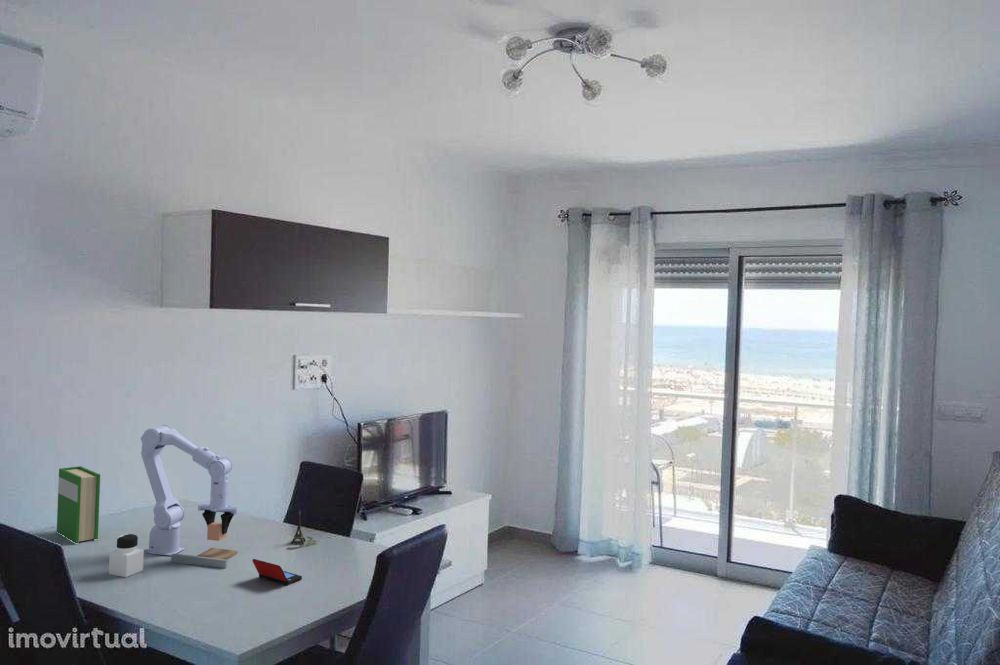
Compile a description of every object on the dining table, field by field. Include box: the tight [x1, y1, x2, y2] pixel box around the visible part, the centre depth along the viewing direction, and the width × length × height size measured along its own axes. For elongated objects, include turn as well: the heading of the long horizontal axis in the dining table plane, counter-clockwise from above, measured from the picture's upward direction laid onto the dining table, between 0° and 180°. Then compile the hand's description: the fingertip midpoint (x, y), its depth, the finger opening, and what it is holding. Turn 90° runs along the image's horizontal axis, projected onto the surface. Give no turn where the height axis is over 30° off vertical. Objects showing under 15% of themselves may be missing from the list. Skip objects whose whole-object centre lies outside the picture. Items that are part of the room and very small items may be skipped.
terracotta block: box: [206, 521, 227, 542], centre depth 259 cm, size 4×4×5 cm
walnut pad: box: [196, 547, 238, 560], centre depth 259 cm, size 10×10×1 cm
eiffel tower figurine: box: [285, 510, 319, 551], centre depth 279 cm, size 15×10×13 cm
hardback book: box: [56, 465, 101, 543], centre depth 273 cm, size 18×7×24 cm, turn 50°
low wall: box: [170, 553, 229, 569], centre depth 251 cm, size 20×1×2 cm, turn 80°
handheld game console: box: [251, 558, 303, 586], centre depth 240 cm, size 12×11×7 cm
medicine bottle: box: [108, 533, 144, 578], centre depth 240 cm, size 7×7×12 cm
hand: (217, 532), depth 259 cm, fingers closed on terracotta block, 4 cm apart
